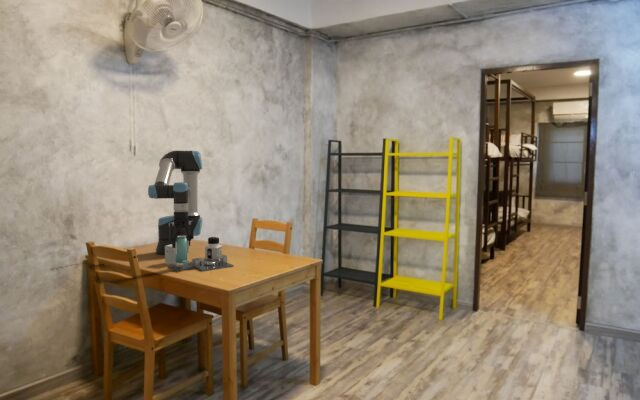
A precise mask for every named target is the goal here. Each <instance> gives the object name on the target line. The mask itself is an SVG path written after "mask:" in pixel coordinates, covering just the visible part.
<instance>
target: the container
mask: <svg viewBox="0 0 640 400" xmlns="http://www.w3.org/2000/svg"><path fill="white" fill-rule="evenodd" d="M216 255H223V245H222V244H220V238H219V237H218V236H211V237H208V238H207V245H206V246H205V248H204V260H205V261H207V260H214V259H219V258H216ZM219 260H220V259H219Z"/></svg>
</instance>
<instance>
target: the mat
mask: <svg viewBox="0 0 640 400" xmlns="http://www.w3.org/2000/svg"><path fill="white" fill-rule="evenodd" d="M167 268H168V269H170V270H172V271H174V272H176V273H177V272H183V271H188V270H189V271H190V270H197V269H196V268H195V267H193V266H191V265H189V264H183V263H181V264H178V265H170V266H169V265H168V267H167Z"/></svg>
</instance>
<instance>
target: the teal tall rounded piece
mask: <svg viewBox="0 0 640 400" xmlns="http://www.w3.org/2000/svg"><path fill="white" fill-rule="evenodd" d="M176 242H177V254H176V258H175V260H176V263H181V264H188V263H189V260H188V253H187V238H186V236H178V237H177V238H176Z"/></svg>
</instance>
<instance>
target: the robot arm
mask: <svg viewBox="0 0 640 400" xmlns="http://www.w3.org/2000/svg"><path fill="white" fill-rule="evenodd" d="M158 167H159V170H158V172H157V174H156V177H155V181H154V184H150V185H148V189H147V195H148V197H149V199H155V200H157V199H159V200H161V199H173V215H167V216H161V217H160V218H159V219H158V225H157V227H158V229H157V230H158V241H157V243H156V244H157V245H156V248H155V254H156V255H162V256H165V246H166V245H170V244H172V247H173V248H174V254H177V242H176V238H177V237H181V236H183V237H186V238H187V254H188V253H190V246H191V241H192V240H194V238H195V236H196V237H197V236H200V235H201V231H202V229H203V228H202V226H203V218H202V217H201V214H200V213H199V212H198V209H199V208H198V206H199V205H198V174H200V172H201V170H203V161H202V155H201V153H200V151H198V150H172V151H169V152H168V153H166V154H164V155H163V156H162V157H161V158H160V160H159V164H158ZM174 170H180V172H181V174H182V177H183V179H182V180H183V181H182V182H178V181H177V182H174V183H173V184H170V182H171V177H172V173H173V171H174Z"/></svg>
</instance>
